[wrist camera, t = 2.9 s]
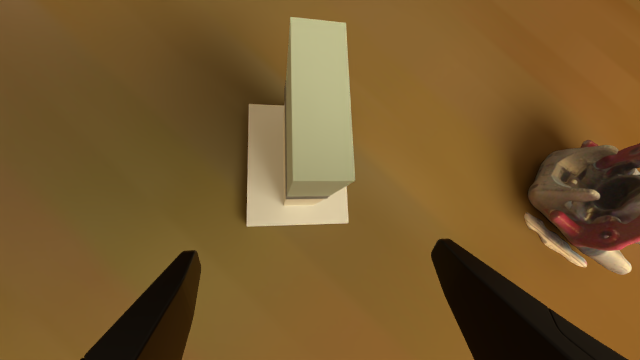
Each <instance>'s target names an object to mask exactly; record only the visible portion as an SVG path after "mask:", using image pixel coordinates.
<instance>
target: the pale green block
mask: <svg viewBox="0 0 640 360" xmlns="http://www.w3.org/2000/svg"><path fill="white" fill-rule="evenodd" d="M285 94H286V195H287V198H302V197H330V195H332V194H334V193H335V192H337V191H339V190H341V189H342V188H344V187H346V186H347V185H349V184H351V183H352V182H354V181H355V170H354V153H353V136H352V119H351V102H350V85H349V68H348V52H347V35H346V23H342V22H333V21H323V20H314V19H305V18H295V17H290V31H289V45H288V59H287V74H286V83H285Z"/></svg>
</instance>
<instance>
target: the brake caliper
mask: <svg viewBox="0 0 640 360" xmlns="http://www.w3.org/2000/svg"><path fill="white" fill-rule="evenodd" d="M639 167H640V143H639V144H637V145H634V146H631V147H628V148H625V149H623V150H621V151H618V149H617V148H616V147H614V146H609V145H604V146H598V145H597V144H595V143H594V142H592V141H590V140H587V141H584V142H583V144H582V146H581V148H575V149H565V150H559V151H554V152H552V153H551V154H549V155H548V156H547V157H546V159H545V160H544V161H543V162H542V164H541V166H540V168H539V171H538V173H537V176H536V178H535V181H534V183H533V184H532V185H531V186H530V188H529V190H528V198H529V200H530V202H531V204H532V205H533V206H534V207H535V208H536V209H538V210H539V211H540V212H541V213H542V214H543V215H544V216H546V218H547V219H548V220H549V221H550V222H551V223H553V224H554V225H555V226H556V227H557V228H558V229H559V230H560V231H561V232H562V234H563V235H564V236H565V237H566V239H567V240H568V241H569V242H570V243H571V244H572V245H574V246H576V247H577V248H578V249H579V250H580V251H581V252H582V253H583V254H586V255H587V256H589V257H591V258H592V259H594V260H595V261H596V262H598V263H599V264H601V265H602V266H604V267H605V268H607V269H608V270H610V271H612V272H615V273H617V274H622V275H623V274H627V273H629V272H630V271H631V264H630V263H629V262H628V261H627V260H626V259H625V258H624V256H623V255H622V253H621V252H620V250H621V249H623V248H624V247H626V246H628V245H630V244H633V243H636V244H640V173H639V172H638V171H637V169H636V168H639ZM524 218H525V222H526V225H527V226H528V228H529V229H532V230H534V231H536V232H537V233H538V234H539V236H540V239H541V241H542V242H543V243H544V244H545V245H546V246H548V247H549V248H550V249H552V250H554V251H555V252H558V253H560V254H561V255H562V256H564V257H565V258H566V259H567V260H569V261H570V262H572V263H574V264H575V265H577V266H582V267H586V266H587V262H586V260H585V259H584V258H583V257H581V256H580V255H578V254H577V253H576V252H574V251H572V249H571V248H570V246H569V245H568V243H566V242H565V241H564V240H562V239H561V238H560V237H559V236H558V235H557V234H556V233H554V232H552V231H549V230H548V229H547V228H546V227H545V226H544V223H543V221H541V220H540V219H538V218H535V217H534V216H532V215H531V214H529V213H527V212H526V213H525V216H524Z"/></svg>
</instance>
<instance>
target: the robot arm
mask: <svg viewBox="0 0 640 360" xmlns="http://www.w3.org/2000/svg"><path fill="white" fill-rule="evenodd" d="M431 258H432V261H433V264H434V267H435V270H436V273H437V275H438V278H439V281H440V284H441V287H442V290H443V292H444V295H445V297H446V299H447V302H448V304H449V306H450V308H451V310H452V312H453V315H454V317H455V319H456V321H457V323H458V325H459V327H460V330H461V332H462V334H463V336H464V338H465V340H466V343H467V345H468V347H469V349H470V351H471V353H472V356H473V358H474V360H628V359H626V358H625V357H623V356H621V355H620V354H618V353H617V352H615V351H613V350H612V349H610V348H609V347H607V346H605V345H604V344H602V343H601V342H599V341H598V340H596V339H594V338H593V337H591V336H590V335H588V334H587V333H585V332H584V331H582V330H580V329H579V328H578V327H576V326H575V325H573V324H572V323H570V322H569V321H567V320H566V319H564V318H563V317H561V316H560V315H558V314H557V313H556V312H554V311H553V310H551V309H549V308H548V307H547V306H545V305H544V304H543V303H541V302H540V301H538V300H537V299H535V298H534V297H532V296H531V295H530V294H528V293H527V292H525V291H524V290H522V289H521V288H520V287H518V286H517V285H515V284H514V283H512V282H511V281H509V280H508V279H507V278H505V277H504V276H502V275H501V274H499V273H498V272H497V271H495V270H494V269H492V268H491V267H489V266H488V265H486V264H485V263H484V262H482V261H481V260H479V259H478V258H476V257H475V256H473V255H472V254H471V253H469V252H468V251H466V250H465V249H463V248H462V247H461V246H459V245H458V244H456V243H455V242H453V241H452V240H450V239H439V240H438V241H437V242H436V244H435V246H434V248H433V250H432V252H431ZM200 274H201V264H200V261H199V257H198V253H197V251H195V250H191V251H183V252H182V253H181V254H180V255H179V256H178V257H177V258H176V259H175V260H174V261H173V262H172V263H171V264H170V265H169V266H168V267H167V268H166V269H165V271H164V272H163V273H162V274H161V275H160V276H159V277H158V278H157V279H156V280H155V281H154V282H153V283H152V284H151V285H150V286H149V287H148V289H147V290H146V291H145V292H144V293H143V294H142V295H141V296H140V297H139V298H138V299H137V300H136V301H135V302H134V303H133V304H132V306H131V307H130V308H129V309H128V310H127V311H126V312H125V313H124V314H123V315H122V316H121V317H120V318H119V319H118V320H117V321H116V322H115V324H114V325H113V326H112V327H111V328H110V329H109V330H108V331H107V332H106V333H105V334H104V335H103V336H102V337H101V338H100V339H99V341H98V342H97V343H96V344H95V345H94V346H93V347H92V348H91V349H90V350H89V351H88V352H87V353H86V354H85V356H84V358H82V359H80V360H182V356H183V353H184V349H185V346H186V342H187V338H188V335H189V331H190V328H191V324H192V320H193V316H194V310H195V304H196V298H197V292H198V286H199V280H200Z"/></svg>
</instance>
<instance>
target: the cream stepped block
mask: <svg viewBox="0 0 640 360" xmlns="http://www.w3.org/2000/svg"><path fill="white" fill-rule="evenodd" d="M340 223H348V205H347V186H346V187H344V188H342V189H341V190H339V191H337V192H335V193H334V194H332V195H330V197H302V198H287V195H286V94H285V102H284V106H282V105H261V104H249V123H248V179H247V226H278V225H309V224H340Z"/></svg>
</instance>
